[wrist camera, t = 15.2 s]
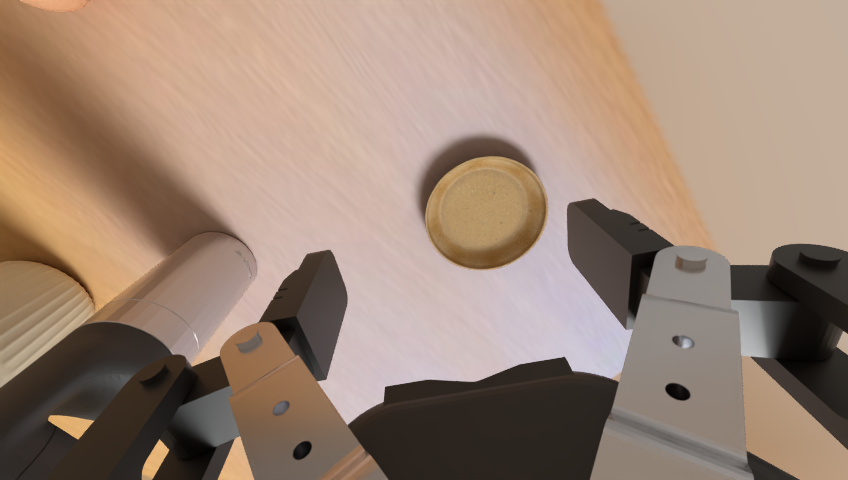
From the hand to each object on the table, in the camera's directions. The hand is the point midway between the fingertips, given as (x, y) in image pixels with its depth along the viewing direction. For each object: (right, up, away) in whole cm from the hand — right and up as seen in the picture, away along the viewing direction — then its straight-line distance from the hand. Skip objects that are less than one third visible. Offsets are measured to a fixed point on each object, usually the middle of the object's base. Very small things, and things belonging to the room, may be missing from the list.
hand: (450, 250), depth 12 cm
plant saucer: (+7, +4, +32) cm, 33 cm away
